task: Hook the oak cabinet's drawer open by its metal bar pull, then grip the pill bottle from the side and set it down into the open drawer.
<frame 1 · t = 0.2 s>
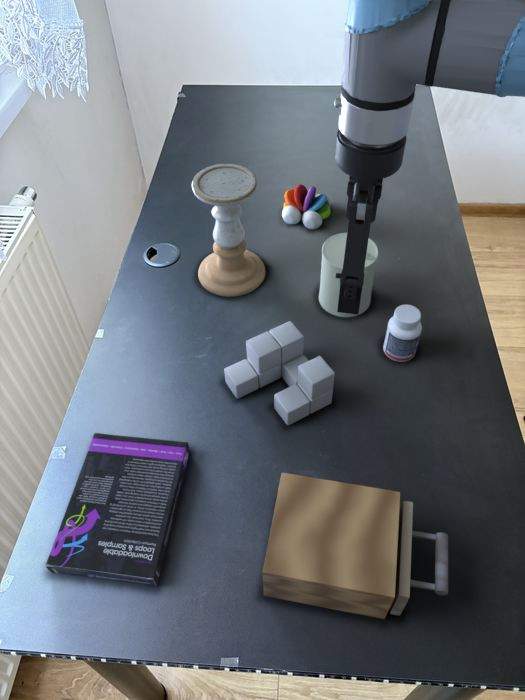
hand: (353, 275, 81), 20 cm above the table, tool pointing down, fingers open, 13 cm apart
drawer: (370, 551, 72), point 4 cm above the table, slide at 0.5 cm
rainbow petal toy: (306, 218, 120), on the table
candle holder: (232, 275, 110), on the table
pill bottle: (398, 351, 98), on the table
cabinet: (329, 557, 76), on the table
box: (125, 510, 81), on the table
grey cube puzzle piece: (277, 394, 93), on the table
can: (344, 301, 105), on the table
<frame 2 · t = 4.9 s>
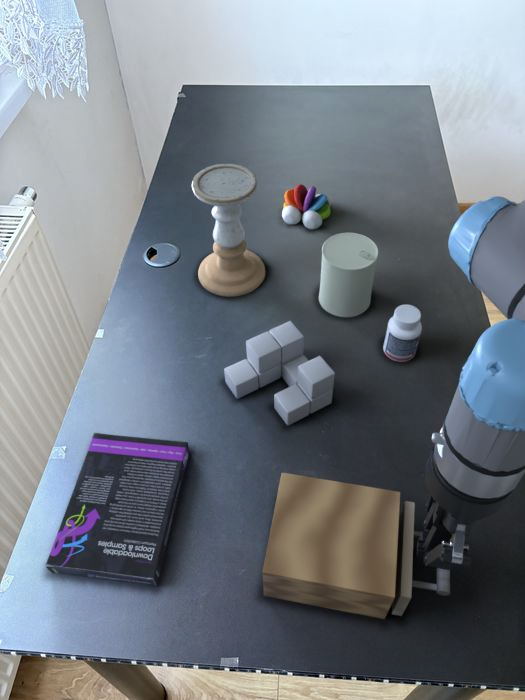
hand: (423, 560, 71), 5 cm above the table, tool pointing down, fingers closed
drawer: (371, 551, 72), point 4 cm above the table, slide at 0.7 cm, touching gripper
everything else where it was.
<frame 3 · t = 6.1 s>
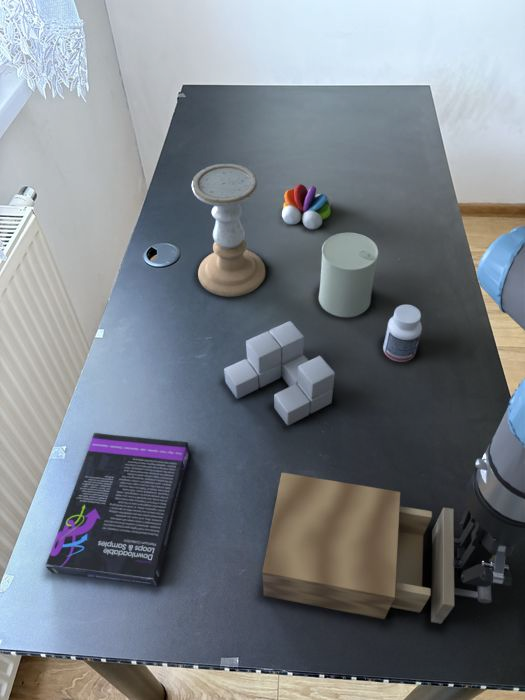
hand: (457, 575, 73), 2 cm above the table, tool pointing down, fingers closed
drawer: (410, 558, 71), point 4 cm above the table, slide at 5.3 cm, touching gripper
everything else where it was.
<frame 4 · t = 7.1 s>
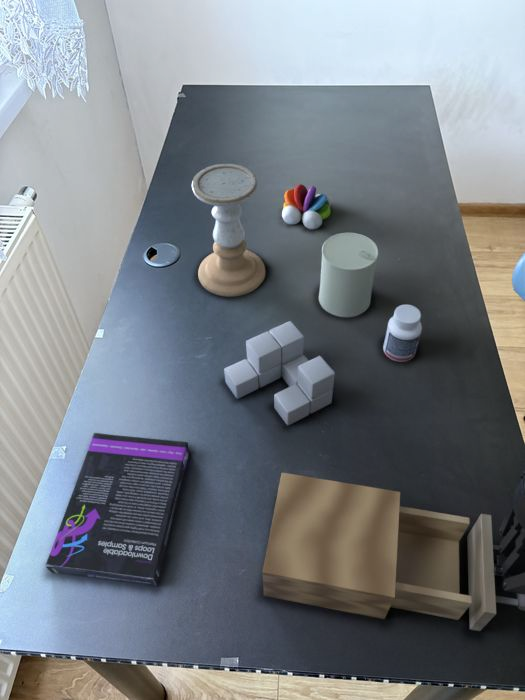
hand: (494, 582, 72), 2 cm above the table, tool pointing down, fingers closed
drawer: (447, 565, 71), point 4 cm above the table, slide at 9.7 cm, touching gripper
everything else where it was.
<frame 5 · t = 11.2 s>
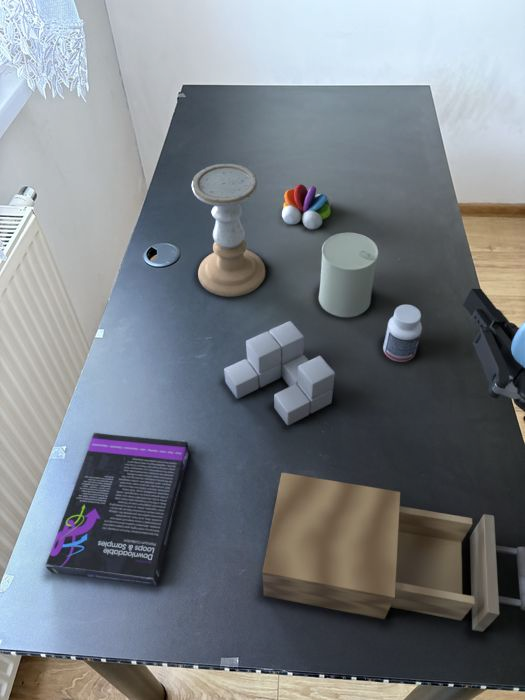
hand: (471, 296, 80), 18 cm above the table, tool horizontal, fingers closed
drawer: (450, 566, 71), point 4 cm above the table, slide at 10.0 cm
everything else where it was.
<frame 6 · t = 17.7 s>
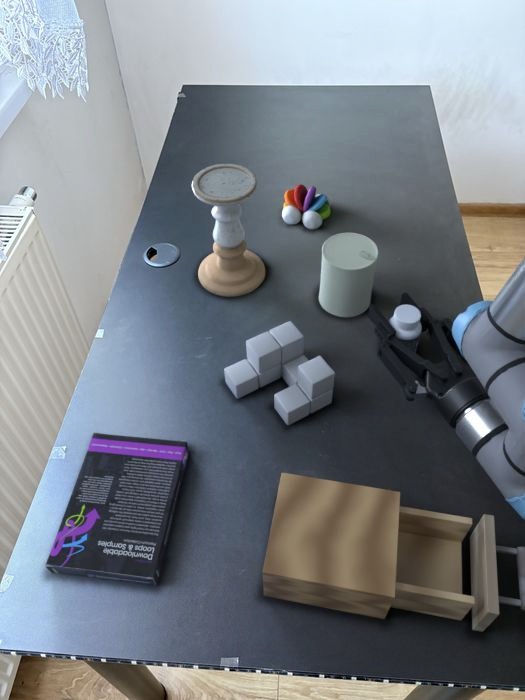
hand: (387, 304, 96), 6 cm above the table, tool horizontal, fingers closed on pill bottle, 5 cm apart
pill bottle: (398, 351, 98), on the table, touching gripper
everything else where it was.
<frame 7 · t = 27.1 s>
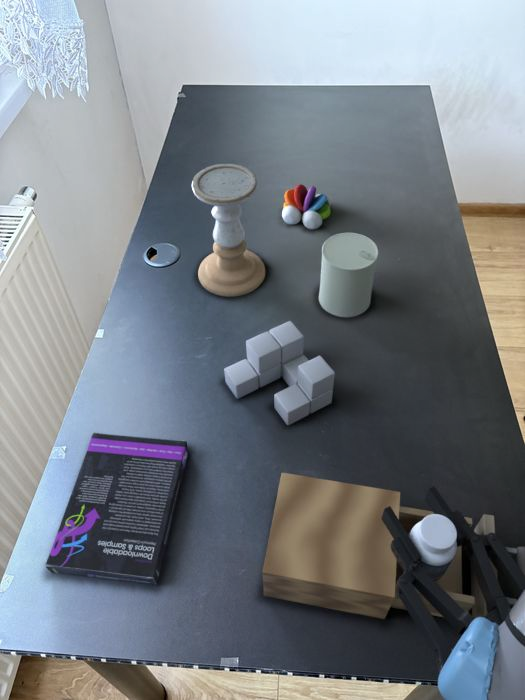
hand: (407, 502, 70), 10 cm above the table, tool horizontal, fingers closed on pill bottle, 5 cm apart
pill bottle: (423, 562, 71), point 4 cm above the table, touching gripper
everything else where it was.
when the fingers open (13 cm above the table, at t = 38.2 s): pill bottle drops 5 cm, resting on drawer.
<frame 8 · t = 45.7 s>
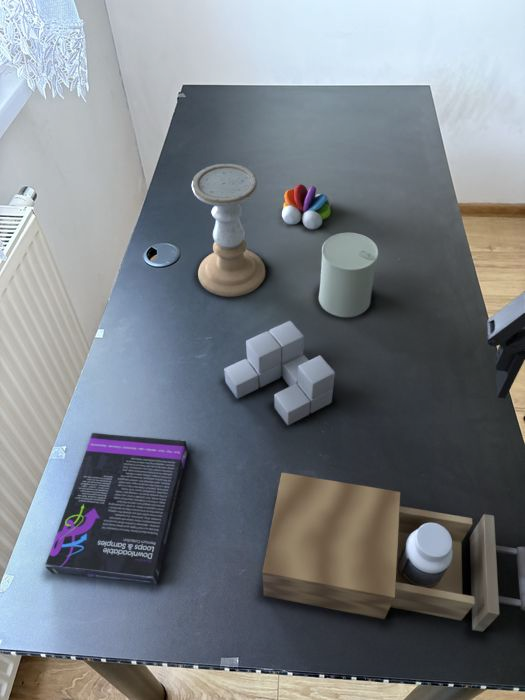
drawer: (450, 566, 71), point 4 cm above the table, slide at 10.0 cm, touching pill bottle
pill bottle: (419, 569, 73), point 2 cm above the table, touching drawer
everything else where it was.
at the end: drawer slide at 10.0 cm; pill bottle inside the target area in the drawer (1.2 cm from its centre), point 1.8 cm above the cabinet's base; the gripper is holding nothing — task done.
